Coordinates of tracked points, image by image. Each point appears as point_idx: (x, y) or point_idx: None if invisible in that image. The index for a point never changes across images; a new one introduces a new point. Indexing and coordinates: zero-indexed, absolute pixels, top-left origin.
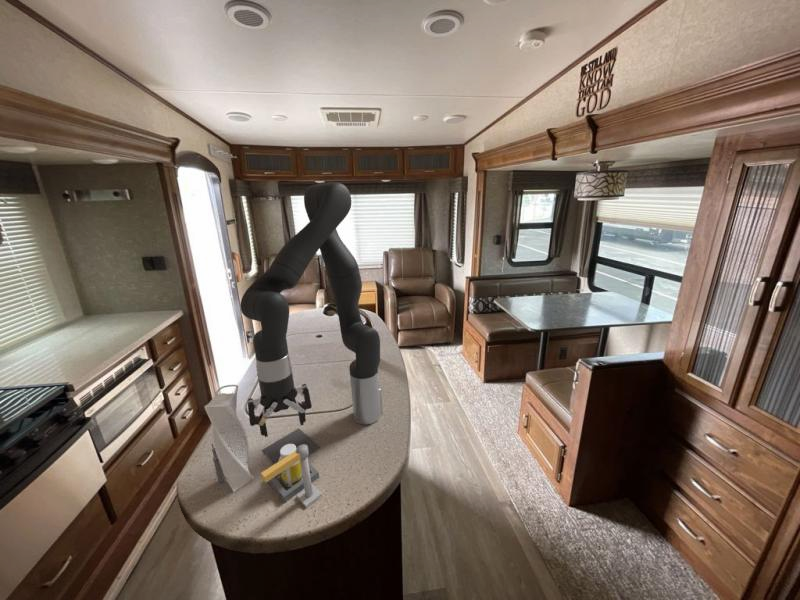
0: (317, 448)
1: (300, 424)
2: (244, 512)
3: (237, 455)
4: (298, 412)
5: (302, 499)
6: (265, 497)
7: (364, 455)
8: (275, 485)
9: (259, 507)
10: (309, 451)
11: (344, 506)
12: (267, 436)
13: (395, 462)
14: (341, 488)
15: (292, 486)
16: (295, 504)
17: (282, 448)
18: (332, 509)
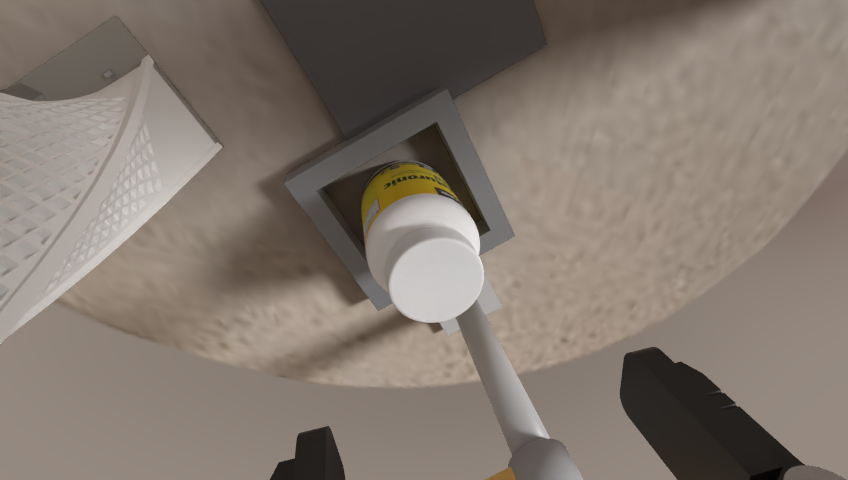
0: (532, 51)
1: (621, 385)
2: (228, 297)
3: (77, 257)
4: (718, 466)
5: None
6: (298, 257)
7: (692, 171)
8: (339, 253)
9: (282, 291)
10: (492, 62)
11: (551, 344)
12: (342, 477)
13: (757, 238)
14: (563, 288)
15: None
16: None
17: (403, 268)
18: (517, 346)
